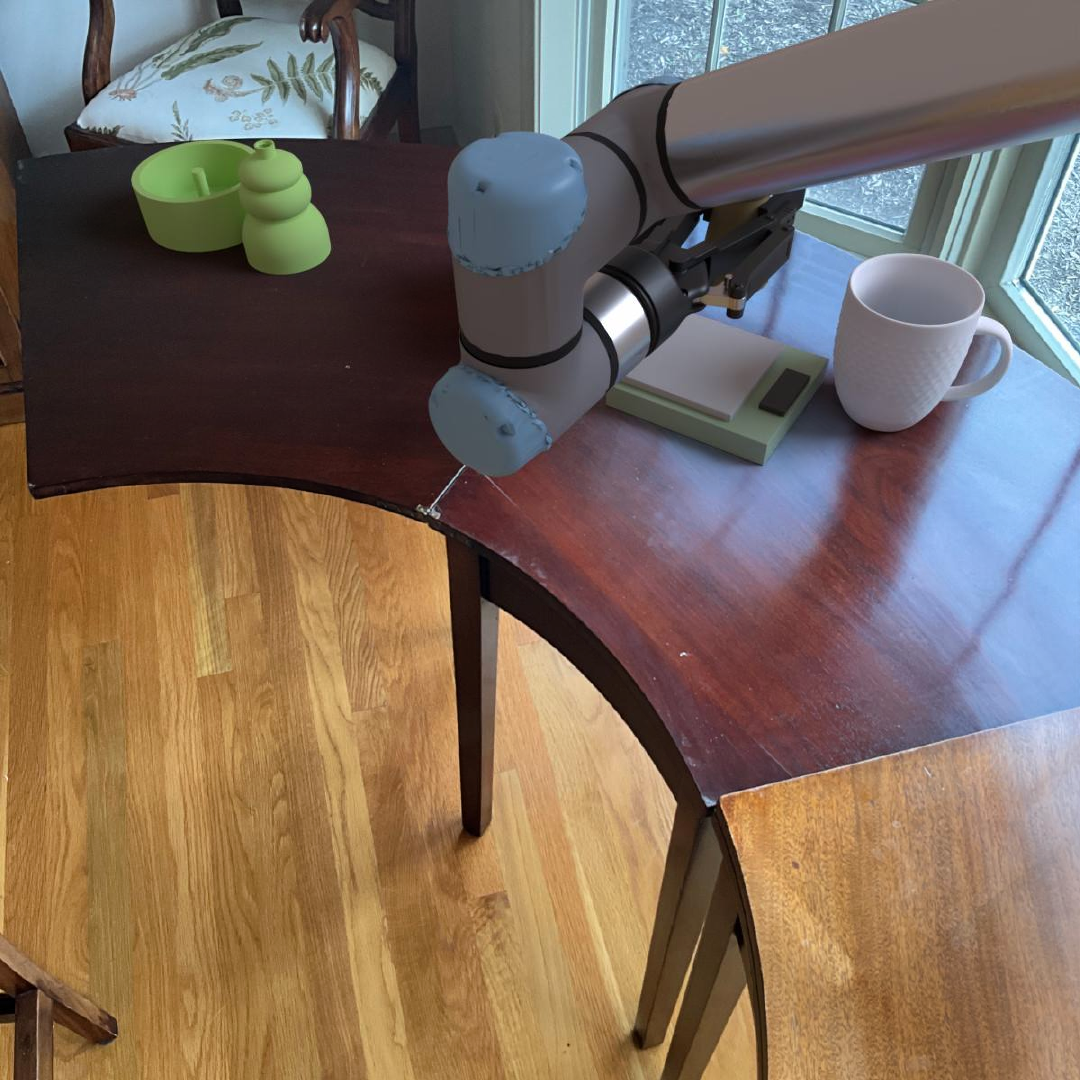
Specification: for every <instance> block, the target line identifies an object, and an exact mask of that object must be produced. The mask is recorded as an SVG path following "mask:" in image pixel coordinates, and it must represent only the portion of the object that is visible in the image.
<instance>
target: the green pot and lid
mask: <svg viewBox="0 0 1080 1080" xmlns="http://www.w3.org/2000/svg"><path fill="white" fill-rule="evenodd" d="M130 180H131V181H130V182H131V186H132V188H133V191H134V194H135V197H136V200H137V203H138V206H139V208H140V211H141V214H142V217H143V220H144V222H145V226H146V228H147V232H148V234H149V236H150V237H151V239H152V240H153V241H154V242H155V243H156V244H158V245H160V246H161V247H164V248H166V249H169V250H173V251H176V252H186V253H206V252H214V251H219V250H224V249H228V248H231V247H234V246H237V245H238V246H239V245H241V244H242V245H243V248H244V252H245V255H246V259H247V262H248V264H249V265H250V266H251V267H252V268H253V269H254V270H256V271H258V272H261V273H264V274H268V275H276V276H279V275H280V276H285V275H295V274H298V273H302V272H305V271H309V270H311V269H314V268H315V267H317V266H318V265H321V264H322V263H323V262H324V261H326V259H327V258H328V256H329V255H330V254H331V251H332V244H331V243H332V242H331V239H330V233H329V229H328V226H327V223H326V220H325V218H324V216H323V215H322V213H321V211H319V210H318V208H317V207H316V206H315V205H314V203H312V202H311V200H312V186H311V183H310V181H309V179H308V177H307V176H306V175H305V174H304V169H303V164H302V161H300V159H299V158H298V157H297V156H296V155H295V154H293V153H292V152H290V151H286V150H284V149H280V148H276V146H275V142H274V141H273V140H272V139H259V140H257V141H256V142H254V144H253V148H252V147H250V146H249V145H246V144H244V143H241V142H237V141H233V140H221V139H206V140H195V141H190V142H184V143H181V144H177V145H173V146H170V147H167V148H165V149H162V150H159V151H158V152H155V153H153V154H151V155H150V156H148V157H147V158H146V159H144V160H142V161H141V162H140V163H139V164H138V165H137V166H136V168H135V169H134V171H133V172H132V175H131V178H130Z"/></svg>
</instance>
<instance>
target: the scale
mask: <svg viewBox="0 0 1080 1080" xmlns="http://www.w3.org/2000/svg"><path fill="white" fill-rule="evenodd" d="M829 362H830V358H827V357H824V356H821V355H819V354H815V353H812V352H809V351H806V350H803V349H801V348H797V347H794V346H791V345H789V344H786V343H784V342H781V341H778V340H774V339H772V338H768V337H765V336H762V335H760V334H756V333H754V332H750V331H748V330H744V329H741V328H738V327H736V326H732V325H730V324H726V323H724V322H721V321H718V320H715V319H712V318H709V317H706V316H703V315H700V314H696V313H693V314H691V315H688V316H687V317H686V318H685V319H684V320H683V322H682V323H681V325H680V326H679V327H678V329H677V330H676V331H675V332H674V334H673V335H672V336H671V337H669V338H668V339H667V340H666V341H665V342H664V343H663V344H662V345H660V346H659V347H658V348H657V349H656V350H655V351H654V352H653V353H652V354H650V355H649V356H648V357H646V358H644V359H643V360H642V361H641V362H640V363H639V364H638V365H637V366H636V367H635V368H634V369H633V370H632V371H631V372H629V373H628V374H627V375H626V376H625V377H624V378H623V379H622V380H621V381H619V382H618V383H617V384H616V385H615V386H614V387H613V388H612V389H611V390H609V391H608V392H607V393H606V394H605V406H608V407H611V408H613V409H616V410H619V411H621V412H623V413H626V414H628V415H631V416H633V417H636V418H639V419H642V420H644V421H647V422H648V423H652V424H654V425H657V426H659V427H662V428H665V429H667V430H670V431H672V432H675V433H678V434H680V435H682V436H685V437H688V438H690V439H693V440H695V441H698V442H700V443H703V444H706V445H709V446H711V447H714V448H716V449H718V450H722V451H724V452H727V453H729V454H732V455H733V456H734V455H735V456H737V457H740V458H741V459H745V460H747V461H750V462H752V463H755V464H757V465H760V466H764V465H766V463H767V461H768V460H769V458H770V457H771V456H772V454H773V453H774V451H775V450H776V449H777V447H778V446H779V444H780V443H781V441H782V440H783V439H784V438H785V436H786V435H787V433H788V432H789V431H790V429H791V427H792V426H794V425H793V424H794V423H795V422H796V420H797V419H798V417H799V416H800V415H801V413H802V412H803V411H804V409H805V408H806V406H807V405H808V403H810V401H811V400H812V398H813V397H814V396H815V394H816V392H817V391H818V390H819V389H820V387H821V386H822V384H823V383H824V381H825V379H826V376H827V371H828V367H829Z"/></svg>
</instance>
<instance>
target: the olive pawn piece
mask: <svg viewBox="0 0 1080 1080" xmlns="http://www.w3.org/2000/svg"><path fill="white" fill-rule="evenodd" d="M770 197H771V195H770V196H765V197H761V198H756V199H751V200H746V201H741V202H736V203H731V204H726V205H721V206H716V207H713V209H712V213H711V217H710V221H709V222H708V225H707V228H706V233H705V236H704V240H705V241H707V242H709V243H711V242H713V241H715V240H716V239H718V238H720V237H722V236H724V235H726V234H728V233H730V232H731V231H733V230H735V229H737V228H739V227H741V226H743V225H745V224H746V223H748V222H750V221H752V220H754V219H756V218H758V211H759V207H760V206H761V205H762V204H763V203H765V202H767V201H768V199H769V198H770ZM734 271H735V269H734V270H732V271H730V272H728V273H727V274H731V275H733V273H734ZM727 274H725V275H727ZM725 275H723V276H721V277H719V278H718V279H717V280H716V281H715V283H714V285H713V286H712V287H715V286H718V285H719V284H720V283H721V282H722V281H724V280H725ZM768 284H769V280H768V281H767V282H766V283H765V284H764V285H763V286H762V287H761V288H760V289H759V290H758V291H757V292H756V293H758V292H759V291H761V290H763V289H764V288H765V287H766V286H767V285H768Z"/></svg>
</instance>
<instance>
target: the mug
mask: <svg viewBox="0 0 1080 1080" xmlns="http://www.w3.org/2000/svg"><path fill="white" fill-rule="evenodd" d="M845 289H846V290H845V293H844V297H843V299H842V303H841V308H840V313H839V315H838V316H839V317H838V322H837V327H836V332H835V338H834V345H833V346H834V347H833V353H832V356H833V357H832V358H833V361H832V369H833V378H834V385H835V389H836V394H837V396H838V399H839V401H840V404H841V405H842V408H843V410H844V411H845V413H846V414H847V415H848V416H849V417H850V419H852V420H853V421H854V422H855V423H856V424H858V425H859V426H862V427H864V428H866V429H869V430H872V431H877V432H883V433H884V432H885V433H894V432H899V431H903V430H907V429H908V428H910V427H913V426H915V425H916V424H917V423H919V422H920V421H922V420H923V418H925V417H926V416H927V415H929V414H930V413H931V412H932V411H933V410H934V408H935V407H937V406H938V404H939V403H940V402H950V401H951V402H952V401H963V400H968V399H972V398H975V397H978V396H982V395H983V394H985V393H988V391H990V390H992V389H993V388H994V387H995V386H997V385H998V384H999V383H1000V382H1001V381H1002V380H1003V378H1004V377H1005V376H1006V374H1007V373H1008V371H1009V368H1010V367H1011V364H1012V360H1013V354H1014V353H1013V351H1014V348H1013V341H1012V340H1013V339H1012V337H1011V334H1010V333H1009V330H1008V329H1007V328H1006V327H1005V326H1004V325H1003V324H1002V323H1000V322H999V321H998V320H995V319H993V318H990V317H987V316H984V315H982V312H983V310H984V306H985V300H986V294H985V290H984V288H983V286H982V284H981V283H980V282H979V280H977V278H976V277H975V276H974V275H973V274H971V273H970V272H968V271H967V270H966V269H964V268H962V267H961V266H959V265H957V264H955V263H953V262H951V261H948V260H944V259H941V258H939V257H935V256H932V255H927V254H921V253H909V252H908V253H905V252H904V253H903V252H900V253H899V252H897V253H886V254H881V255H876V256H874V257H870V258H868V259H866V260H864V261H862V262H861V263H859V264H858V265H857V266H856V267H855V268H854V269H853V270H852V271H851V273H850V275H849V277H848V280H847V283H846V288H845ZM974 336H990V337H993V338H995V340H997V341H998V342H999V345H1000V355H999V358H998V361H997V362H996V363H995V366H993V368H992V369H991V370H990V371H989V372H988V373H987V374H985V375H984V376H982V377H981V378H979V379H976V380H974V381H973V382H970V383H967V384H961V385H954V386H953V382H954V381H955V379H956V378H957V376H958V373H959V371H960V370H961V368H962V366H963V363H964V360H965V359H966V358H967V357H966V356H967V355H968V352H969V349H970V347H971V344H972V343H973V338H974Z"/></svg>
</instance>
